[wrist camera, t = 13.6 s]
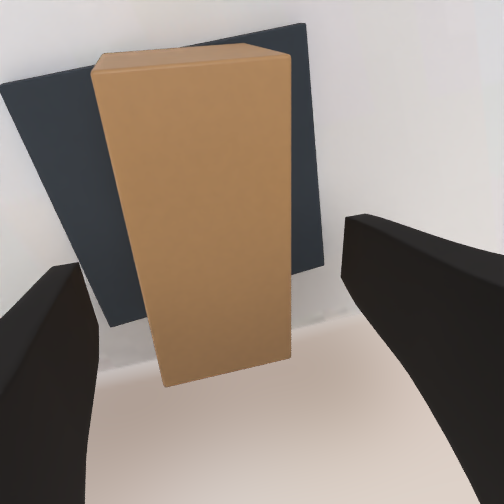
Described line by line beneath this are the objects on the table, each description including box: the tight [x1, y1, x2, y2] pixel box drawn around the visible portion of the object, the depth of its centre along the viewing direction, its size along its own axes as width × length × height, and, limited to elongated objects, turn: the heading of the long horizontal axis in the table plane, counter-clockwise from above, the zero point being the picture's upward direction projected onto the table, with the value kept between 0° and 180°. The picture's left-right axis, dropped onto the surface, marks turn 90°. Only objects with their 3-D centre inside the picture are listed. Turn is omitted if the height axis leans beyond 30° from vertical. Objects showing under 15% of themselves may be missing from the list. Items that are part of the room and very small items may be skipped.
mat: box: [0, 23, 324, 327], centre depth 16 cm, size 10×10×1 cm
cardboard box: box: [91, 43, 291, 387], centre depth 14 cm, size 10×5×5 cm, turn 3°
